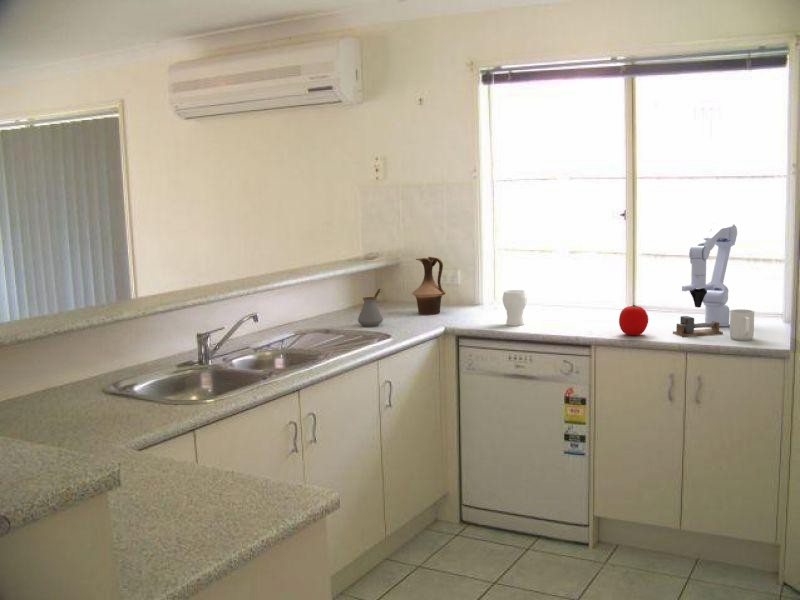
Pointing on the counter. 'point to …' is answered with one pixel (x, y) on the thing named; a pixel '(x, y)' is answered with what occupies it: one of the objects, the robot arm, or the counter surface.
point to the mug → (741, 324)
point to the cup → (514, 306)
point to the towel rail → (701, 332)
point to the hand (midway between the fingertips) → (697, 307)
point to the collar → (688, 324)
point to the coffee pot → (370, 312)
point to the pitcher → (429, 288)
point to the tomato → (633, 320)
